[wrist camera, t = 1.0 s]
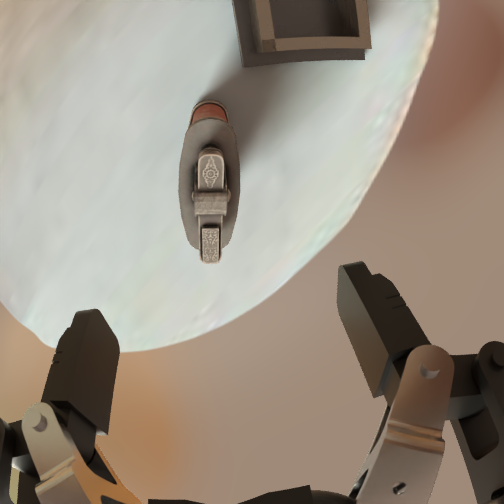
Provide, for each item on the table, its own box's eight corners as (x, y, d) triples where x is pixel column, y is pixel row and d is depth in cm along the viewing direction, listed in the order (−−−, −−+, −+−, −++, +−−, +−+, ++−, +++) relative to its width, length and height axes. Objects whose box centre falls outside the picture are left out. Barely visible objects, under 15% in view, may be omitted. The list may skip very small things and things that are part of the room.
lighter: (186, 100, 20) (171, 131, 12) (233, 100, 21) (251, 131, 13) (186, 198, 25) (179, 279, 17) (228, 198, 26) (241, 277, 18)
